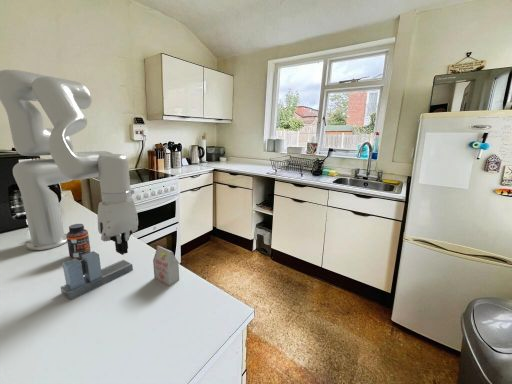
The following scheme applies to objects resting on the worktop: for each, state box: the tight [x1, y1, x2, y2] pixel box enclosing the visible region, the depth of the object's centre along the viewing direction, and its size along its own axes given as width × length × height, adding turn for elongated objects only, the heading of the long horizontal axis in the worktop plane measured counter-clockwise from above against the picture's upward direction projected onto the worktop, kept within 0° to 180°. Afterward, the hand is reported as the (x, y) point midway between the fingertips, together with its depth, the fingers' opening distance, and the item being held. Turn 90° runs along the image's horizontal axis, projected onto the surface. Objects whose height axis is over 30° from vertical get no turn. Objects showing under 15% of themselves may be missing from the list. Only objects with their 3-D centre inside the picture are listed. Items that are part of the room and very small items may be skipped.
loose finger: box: [80, 250, 102, 281], centre depth 67 cm, size 3×4×7 cm
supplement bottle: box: [66, 223, 92, 260], centre depth 81 cm, size 6×6×11 cm
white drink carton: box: [152, 245, 180, 287], centre depth 71 cm, size 4×7×10 cm, turn 58°
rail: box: [60, 258, 134, 301], centre depth 69 cm, size 5×17×9 cm, turn 149°
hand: (122, 252), depth 75 cm, fingers closed
